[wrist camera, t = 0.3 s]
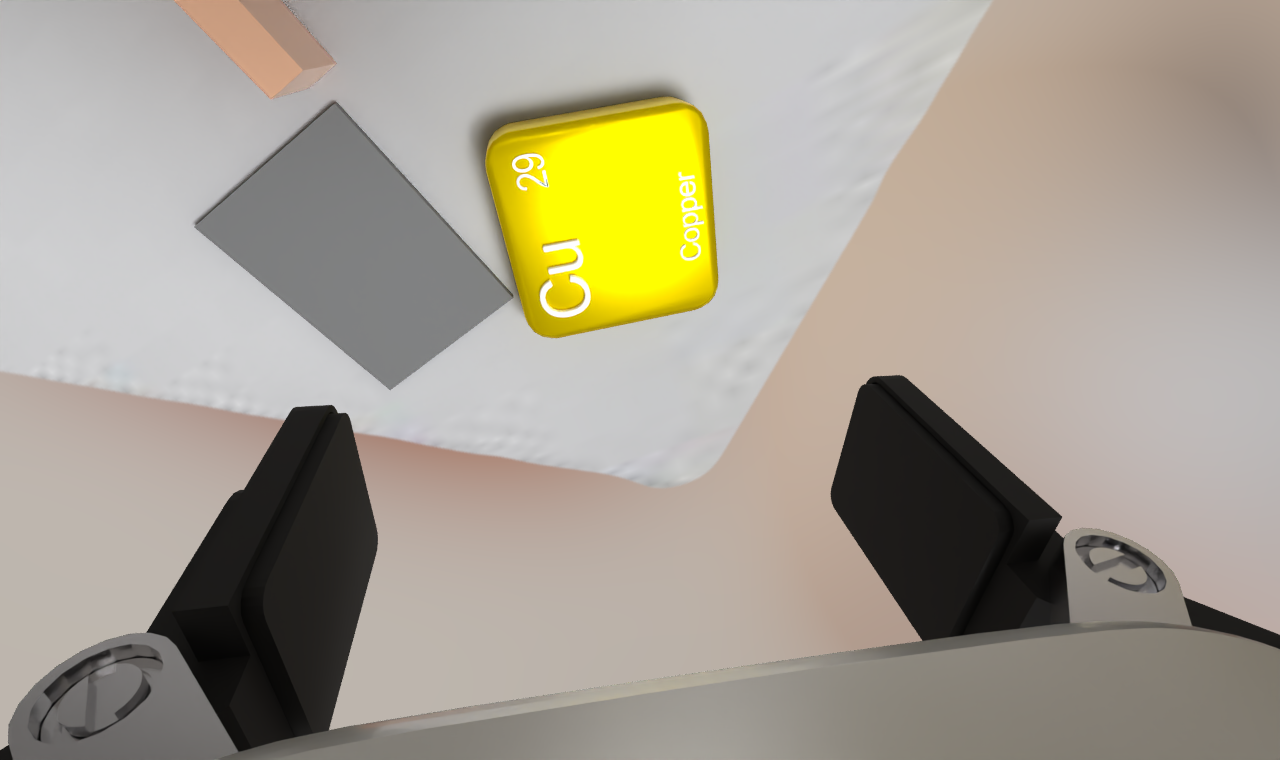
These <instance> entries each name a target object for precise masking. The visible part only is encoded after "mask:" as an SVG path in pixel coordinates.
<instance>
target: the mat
mask: <svg viewBox="0 0 1280 760" xmlns="http://www.w3.org/2000/svg"><path fill="white" fill-rule="evenodd" d="M195 228H196V229H197V230H198V231H200V232H201V233H202V234H203V235H204V236H206V237H207V238H208V239H209V240H210V241H212V242H213V243H214V244H215V245H216V246H218V247H219V248H220V249H221V250H222V251H224V252H225V253H226V254H227V255H228V256H230V257H231V258H232V259H233V260H234V261H236V262H237V263H238V264H239V265H240V266H242V267H243V268H244V269H245V270H246V271H248V272H249V273H250V274H251V275H252V276H254V277H255V278H256V279H257V280H258V281H260V282H261V283H262V284H263V285H264V286H266V287H267V288H268V289H269V290H270V291H272V292H273V293H274V294H275V295H276V296H278V297H279V298H280V299H281V300H282V301H284V302H285V303H286V304H287V305H289V306H290V307H291V308H292V309H293V310H295V311H296V312H297V313H298V314H299V315H301V316H302V317H303V318H304V319H305V320H307V321H308V322H309V323H310V324H311V325H313V326H314V327H315V328H316V329H317V330H319V331H320V332H321V333H322V334H323V335H325V336H326V337H327V338H328V339H329V340H331V341H332V342H333V343H334V344H335V345H337V346H338V347H339V348H340V349H341V350H343V351H344V352H345V353H346V354H347V355H349V356H350V357H351V358H352V359H353V360H355V361H356V362H357V363H358V364H359V365H361V366H362V367H363V368H364V369H365V370H367V371H368V372H369V373H370V374H371V375H373V376H374V377H375V378H376V379H377V380H379V381H380V382H381V383H382V384H383V385H385V386H386V387H387V388H388V389H389V390H391V389H392V388H394V387H395V386H396V385H398V384H399V383H400V382H402V381H403V380H404V379H406V378H407V377H408V376H410V375H411V374H412V373H414V372H415V371H416V370H418V369H419V368H420V367H422V366H423V365H424V364H426V363H427V362H428V361H430V360H431V359H432V358H434V357H435V356H436V355H438V354H439V353H440V352H442V351H443V350H444V349H446V348H447V347H448V346H450V345H451V344H452V343H454V342H455V341H456V340H458V339H459V338H460V337H462V336H463V335H464V334H466V333H467V332H468V331H470V330H471V329H472V328H474V327H475V326H476V325H478V324H479V323H480V322H482V321H483V320H484V319H486V318H487V317H488V316H490V315H491V314H492V313H494V312H495V311H496V310H498V309H499V308H500V307H502V306H503V305H504V304H506V303H507V302H508V301H510V300H511V299H512V298H513V294H512V293H511V292H510V291H509V290H508V289H507V288H506V287H505V286H504V285H503V283H502V282H501V281H500V280H499V279H498V278H497V277H496V276H495V275H494V274H493V273H492V271H491V270H490V269H489V268H488V267H487V266H486V265H485V264H484V263H483V262H482V261H481V259H480V258H479V257H478V256H477V255H476V254H475V253H474V252H473V251H472V250H471V249H470V247H469V246H468V245H467V244H466V243H465V242H464V241H463V240H462V239H461V238H460V237H459V235H458V234H457V233H456V232H455V231H454V230H453V229H452V228H451V227H450V226H449V225H448V223H447V222H446V221H445V220H444V219H443V218H442V217H441V216H440V215H439V214H438V212H437V211H436V210H435V209H434V208H433V207H432V206H431V205H430V204H429V203H428V202H427V200H426V199H425V198H424V197H423V196H422V195H421V194H420V193H419V192H418V191H417V190H416V188H415V187H414V186H413V185H412V184H411V183H410V182H409V181H408V180H407V179H406V178H405V176H404V175H403V174H402V173H401V172H400V171H399V170H398V169H397V168H396V167H395V166H394V164H393V163H392V162H391V161H390V160H389V159H388V158H387V157H386V156H385V155H384V154H383V152H382V151H381V150H380V149H379V148H378V147H377V146H376V145H375V144H374V143H373V141H372V140H371V139H370V138H369V137H368V136H367V135H366V134H365V133H364V132H363V131H362V129H361V128H360V127H359V126H358V125H357V124H356V123H355V122H354V121H353V120H352V119H351V117H350V116H349V115H348V114H347V113H346V112H345V111H344V110H343V109H342V108H341V107H340V105H339V104H338V103H334V104H333V105H332V106H331V107H330V108H329V109H328V110H326V111H325V112H324V113H323V114H322V115H321V116H320V117H318V118H317V119H316V120H315V121H314V122H313V123H312V124H310V125H309V126H308V127H307V128H306V129H305V130H304V131H303V132H301V133H300V134H299V135H298V136H297V137H296V138H295V139H293V140H292V141H291V142H290V143H289V144H288V145H287V146H285V147H284V148H283V149H282V150H281V151H280V152H279V153H278V154H276V155H275V156H274V157H273V158H272V159H271V160H270V161H268V162H267V163H266V164H265V165H264V166H263V167H262V168H260V169H259V170H258V171H257V172H256V173H255V174H254V175H253V176H251V177H250V178H249V179H248V180H247V181H246V182H245V183H243V184H242V185H241V186H240V187H239V188H238V189H237V190H235V191H234V192H233V193H232V194H231V195H230V196H229V197H228V198H226V199H225V200H224V201H223V202H222V203H221V204H220V205H218V206H217V207H216V208H215V209H214V210H213V211H212V212H210V213H209V214H208V215H207V216H206V217H205V218H204V219H203V220H201V221H200V222H199V223H198V224H197V225H196V226H195Z"/></svg>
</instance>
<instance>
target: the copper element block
mask: <svg viewBox="0 0 1280 760" xmlns="http://www.w3.org/2000/svg"><path fill="white" fill-rule="evenodd" d="M485 166H486V173H487V177H488V181H489V185H490V188H491V192H492V196H493V199H494V203H495V207H496V211H497V214H498V218H499V222H500V226H501V229H502V233H503V237H504V241H505V244H506V248H507V252H508V256H509V259H510V263H511V267H512V270H513V274H514V278H515V282H516V285H517V289H518V293H519V297H520V300H521V304H522V308H523V312H524V315H525V318H526V320H527V323H528V325H529V326H530V327H531V328H532V330H533V331H534V332H535V333H537V334H539V335H541V336H543V337H549V338H560V337H565V336H570V335H575V334H580V333H585V332H589V331H594V330H599V329H604V328H609V327H614V326H619V325H624V324H629V323H634V322H638V321H643V320H648V319H653V318H658V317H663V316H668V315H673V314H678V313H683V312H687V311H692V310H696V309H699V308H701V307H703V306H704V305H706V304H708V303H709V302H710V301H711V299H712V298H713V297H714V296H715V293H716V290H717V287H718V267H717V252H716V237H715V221H714V206H713V191H712V176H711V161H710V146H709V132H708V127H707V123H706V121H705V119H704V117H703V115H702V113H701V112H700V111H699V110H698V109H697V108H696V107H695V106H694V105H691V104H689V103H687V102H685V101H683V100H680V99H677V98H674V97H657V98H652V99H646V100H640V101H634V102H629V103H623V104H617V105H611V106H605V107H600V108H594V109H588V110H582V111H577V112H571V113H565V114H559V115H553V116H548V117H542V118H536V119H530V120H525V121H519V122H513V123H508V124H506V125H504V126H502V127H501V128H499V129H498V130H496V131H495V132H494V133H493V135H492V137H491V138H490V140H489V143H488V147H487V152H486V159H485Z"/></svg>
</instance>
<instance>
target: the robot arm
mask: <svg viewBox="0 0 1280 760" xmlns="http://www.w3.org/2000/svg"><path fill="white" fill-rule="evenodd" d="M831 500H832V504H833V507H834V508H835V510H836V512H837V513H838V515H839V516H840V517H841V519H842V521H843V522H844V524H845V525H846V527H847V528H848V530H849V531H850V533H851V534H852V536H853V537H854V539H855V540H856V542H857V543H858V545H859V546H860V548H861V549H862V550H863V552H864V554H865V555H866V557H867V558H868V560H869V561H870V563H871V564H872V566H873V567H874V569H875V570H876V572H877V573H878V575H879V576H880V578H881V579H882V580H883V582H884V584H885V585H886V586H887V588H888V590H889V591H890V593H891V594H892V596H893V597H894V599H895V600H896V602H897V603H898V605H899V606H900V608H901V609H902V611H903V612H904V614H905V615H906V617H907V618H908V620H909V621H910V623H911V624H912V626H913V627H914V629H915V630H916V632H917V633H918V635H919V636H920V638H921V639H922V641H920V642H912V643H905V644H897V645H890V646H883V647H876V648H868V649H861V650H854V651H846V652H839V653H832V654H825V655H819V656H811V657H804V658H797V659H790V660H783V661H776V662H769V663H762V664H755V665H748V666H741V667H734V668H727V669H720V670H714V671H706V672H699V673H692V674H685V675H678V676H671V677H664V678H658V679H651V680H644V681H637V682H631V683H624V684H617V685H610V686H604V687H597V688H590V689H583V690H576V691H570V692H563V693H557V694H550V695H543V696H536V697H529V698H523V699H516V700H509V701H503V702H496V703H490V704H483V705H476V706H469V707H463V708H457V709H451V710H445V711H440V712H433V713H427V714H421V715H415V716H409V717H403V718H397V719H390V720H384V721H378V722H373V723H366V724H361V725H354V726H348V727H343V728H338V729H334V730H329V727H330V723H331V720H332V716H333V712H334V708H335V704H336V701H337V697H338V693H339V690H340V686H341V682H342V679H343V675H344V671H345V668H346V664H347V660H348V656H349V653H350V649H351V645H352V642H353V638H354V634H355V630H356V627H357V623H358V619H359V615H360V612H361V608H362V604H363V600H364V596H365V593H366V589H367V586H368V582H369V578H370V574H371V571H372V567H373V563H374V560H375V556H376V552H377V545H378V535H377V528H376V524H375V520H374V516H373V512H372V508H371V504H370V499H369V495H368V491H367V488H366V483H365V479H364V475H363V471H362V466H361V462H360V459H359V454H358V450H357V446H356V442H355V438H354V434H353V430H352V425H351V421H350V418H349V416H348V414H346V413H337V410H336V409H335V407H334V406H332V405H324V406H305V407H295V408H293V409H292V410H291V412H290V413H289V415H288V417H287V418H286V420H285V422H284V423H283V425H282V427H281V428H280V430H279V432H278V433H277V435H276V437H275V438H274V440H273V442H272V443H271V445H270V447H269V449H268V450H267V452H266V454H265V455H264V457H263V459H262V460H261V462H260V464H259V465H258V467H257V469H256V471H255V472H254V474H253V476H252V477H251V479H250V480H249V482H248V484H247V486H246V487H245V489H244V490H239V491H237V492H235V493H234V494H233V495H232V496H231V497H230V498H229V500H228V501H227V503H226V504H225V506H224V507H223V509H222V511H221V512H220V514H219V516H218V517H217V519H216V520H215V522H214V524H213V525H212V527H211V529H210V530H209V532H208V533H207V535H206V537H205V538H204V540H203V542H202V543H201V545H200V546H199V548H198V550H197V551H196V553H195V554H194V556H193V558H192V559H191V561H190V563H189V564H188V566H187V567H186V569H185V571H184V572H183V574H182V576H181V577H180V579H179V580H178V582H177V584H176V586H175V587H174V589H173V590H172V592H171V594H170V595H169V597H168V599H167V600H166V602H165V603H164V605H163V606H162V608H161V610H160V611H159V613H158V615H157V616H156V618H155V620H154V621H153V623H152V625H151V626H150V628H149V629H148V631H147V632H146V633H136V634H127V635H123V636H119V637H116V638H112V639H108V640H105V641H103V642H100V643H98V644H96V645H94V646H91V647H89V648H87V649H85V650H82V651H80V652H79V653H77V654H76V655H74V656H72V657H71V658H69V659H68V660H66V661H64V662H63V663H61V664H59V665H58V666H56V667H55V668H54V669H53V670H52V671H50V672H49V673H48V674H47V675H46V676H45V677H43V679H41V680H40V681H39V682H38V683H36V684H35V685H34V686H33V688H32V689H31V690H30V691H29V692H28V694H27V695H26V696H25V697H24V699H23V700H22V701H21V702H20V703H19V704H18V706H17V708H16V710H15V712H14V715H13V717H12V719H11V721H10V723H9V729H8V744H9V745H8V746H6V747H5V748H3V749H2V750H0V760H1280V635H1278V634H1276V633H1274V632H1271V631H1269V630H1266V629H1263V628H1261V627H1258V626H1256V625H1253V624H1251V623H1248V622H1246V621H1243V620H1241V619H1238V618H1235V617H1233V616H1230V615H1228V614H1225V613H1223V612H1220V611H1218V610H1215V609H1213V608H1210V607H1208V606H1205V605H1203V604H1200V603H1198V602H1195V601H1192V600H1190V599H1187V598H1185V597H1183V594H1182V591H1181V588H1180V584H1179V582H1178V580H1177V578H1176V576H1175V575H1174V573H1173V571H1172V570H1171V569H1170V568H1169V567H1168V566H1167V565H1166V564H1165V563H1164V562H1163V561H1162V560H1161V559H1160V558H1158V557H1157V556H1156V555H1154V554H1153V553H1152V552H1150V551H1149V550H1148V549H1146V548H1144V547H1142V546H1141V545H1139V544H1137V543H1135V542H1133V541H1132V540H1130V539H1127V538H1124V537H1122V536H1120V535H1117V534H1114V533H1111V532H1107V531H1104V530H1100V529H1092V528H1080V529H1075V530H1072V531H1070V532H1069V533H1068V534H1067V535H1065V537H1064V538H1063V537H1061V536H1060V535H1059V534H1058V533H1057V532H1056V531H1055V529H1056V527H1057V526H1058V524H1059V522H1060V520H1061V518H1062V516H1061V515H1060V514H1059V513H1057V512H1056V511H1055V510H1054V509H1053V508H1052V507H1051V506H1049V505H1048V504H1047V503H1046V502H1045V501H1044V500H1043V499H1042V498H1040V497H1039V496H1038V495H1037V494H1036V493H1035V492H1034V491H1033V490H1031V489H1030V488H1029V487H1028V486H1027V485H1026V484H1024V482H1023V481H1021V480H1020V479H1019V478H1018V477H1017V476H1016V475H1015V474H1013V473H1012V472H1011V471H1010V470H1009V469H1008V468H1007V467H1005V465H1003V464H1002V463H1001V462H1000V461H999V460H998V459H997V458H996V457H994V456H993V455H992V454H991V453H990V452H989V451H988V450H987V449H985V448H984V447H983V446H982V445H981V444H980V443H979V442H978V441H976V440H975V439H974V438H973V437H972V436H971V435H969V433H967V432H966V431H965V430H964V429H963V428H961V426H960V425H958V424H957V423H956V422H955V421H954V420H953V419H952V418H951V417H949V416H948V415H947V414H946V413H945V412H943V410H942V409H940V408H939V407H938V406H937V405H936V404H935V403H934V402H933V401H931V400H930V399H929V398H928V397H927V396H926V395H925V394H924V393H922V392H921V391H920V390H919V389H918V388H917V387H916V386H915V385H913V384H912V383H911V382H910V381H909V380H908V379H907V378H905V377H904V376H900V375H895V376H877V377H872V378H870V379H869V380H868V381H867V383H866V384H864V385H862V386H861V388H860V389H859V391H858V394H857V398H856V402H855V405H854V409H853V412H852V416H851V420H850V423H849V427H848V430H847V434H846V438H845V441H844V445H843V448H842V452H841V456H840V459H839V463H838V466H837V470H836V474H835V477H834V481H833V484H832V488H831Z"/></svg>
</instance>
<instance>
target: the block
mask: <svg viewBox="0 0 1280 760" xmlns="http://www.w3.org/2000/svg"><path fill="white" fill-rule="evenodd" d="M174 1H175V2H176V3H177V4H178V5H179V6H180V7H181V8H182V9H183V10H184V11H185V12H186V13H187V14H188V15H189V16H190V17H191V18H192V19H193V20H194V22H195V23H196V24H197V25H198V26H199V27H200V28H201V29H202V30H203V31H204V32H205V33H206V34H207V35H208V36H209V37H210V38H211V39H212V40H213V41H214V42H215V43H216V44H217V45H218V46H219V47H220V48H221V49H222V50H223V51H224V52H225V53H226V54H227V55H228V56H229V57H230V58H231V59H232V60H233V61H234V62H235V63H236V64H237V66H238V67H239V68H240V69H241V70H242V71H243V72H244V73H245V74H246V75H247V76H248V77H249V78H250V79H251V80H252V81H253V82H254V83H255V84H256V85H257V86H258V87H259V88H260V89H261V90H262V91H263V92H264V93H265V94H266V95H267V96H268V97H269V98H270V99H275V98H278V97H281V96H285V95H288V94H292V93H295V92H298V91H302V90H305V89H308V88H310V87H311V86H312V85H314V84H315V83H316V82H317V81H318V80H319V79H320V78H321V77H323V76H324V75H325V74H326V73H327V72H328V71H329V70H330V69H331V68H333V67H334V66H335V65H336V64H337V63H336V62H335V61H334V60H333V58H332V57H331V56H330V55H329V54H328V53H327V52H326V51H325V49H324V48H323V47H322V46H321V45H320V44H319V43H318V41H317V40H316V39H315V38H314V37H313V36H312V35H311V34H310V32H309V31H308V30H307V29H306V28H305V27H304V26H303V24H302V23H301V22H300V21H299V20H298V19H297V18H296V17H295V15H294V14H293V13H292V12H291V11H290V10H289V9H288V7H287V6H286V5H285V4H284V3H283V2H282V1H281V0H174Z"/></svg>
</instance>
